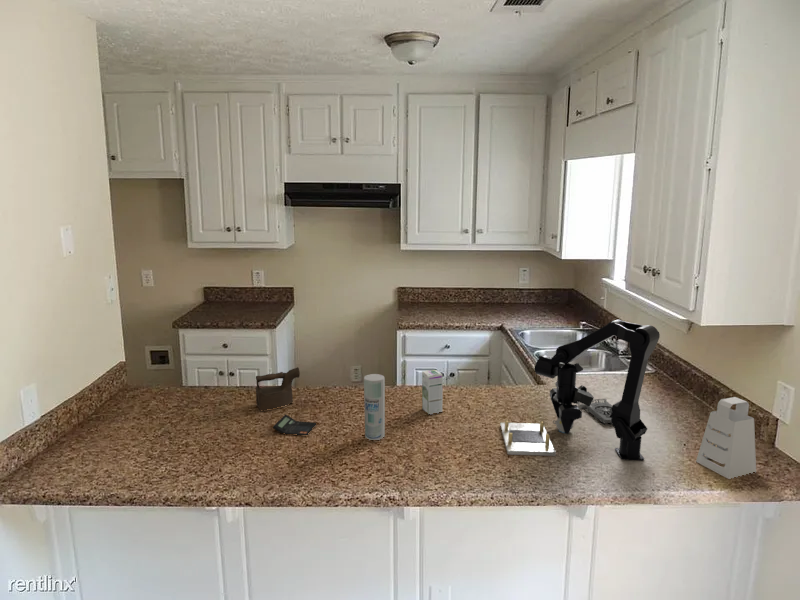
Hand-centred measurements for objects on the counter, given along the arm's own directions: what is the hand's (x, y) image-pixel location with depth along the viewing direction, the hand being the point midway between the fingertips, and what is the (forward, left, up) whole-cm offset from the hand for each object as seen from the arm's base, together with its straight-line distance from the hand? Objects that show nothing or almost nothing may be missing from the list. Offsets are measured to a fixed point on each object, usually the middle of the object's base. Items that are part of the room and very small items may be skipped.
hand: (563, 427), depth 175 cm
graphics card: (+14, -16, -2) cm, 22 cm away
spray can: (-8, +61, -2) cm, 62 cm away
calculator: (-4, +88, -2) cm, 88 cm away
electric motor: (0, 0, -2) cm, 2 cm away
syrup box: (+14, +43, -2) cm, 45 cm away
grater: (-20, -41, -2) cm, 46 cm away
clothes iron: (+15, +100, -2) cm, 101 cm away
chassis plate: (-7, +13, -2) cm, 15 cm away
